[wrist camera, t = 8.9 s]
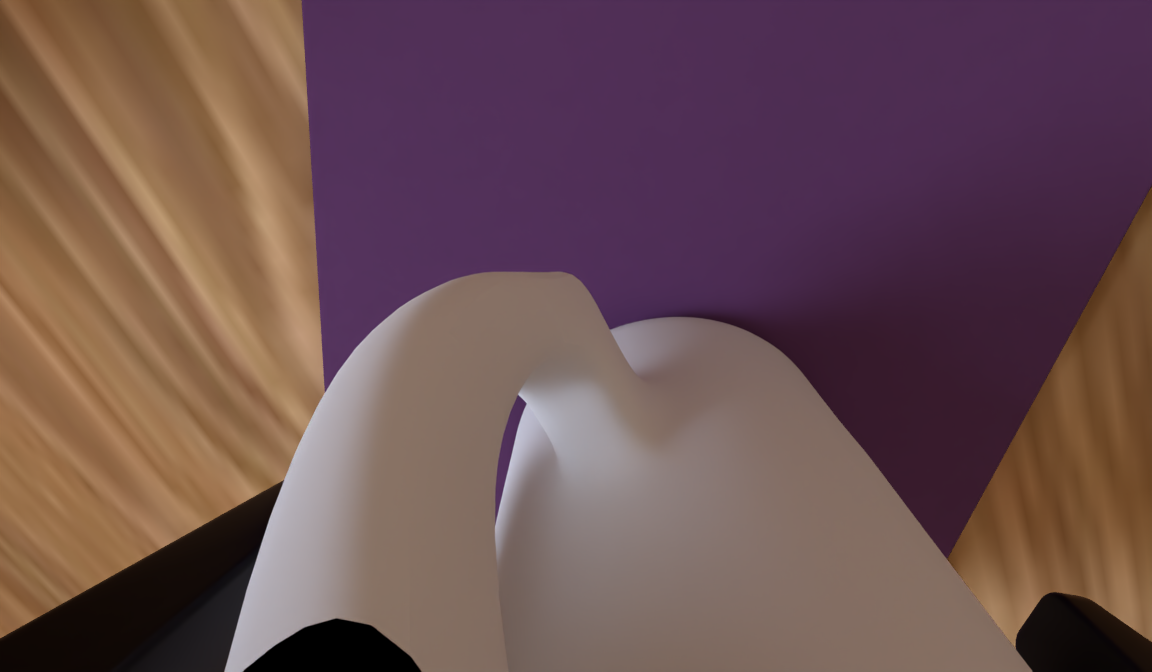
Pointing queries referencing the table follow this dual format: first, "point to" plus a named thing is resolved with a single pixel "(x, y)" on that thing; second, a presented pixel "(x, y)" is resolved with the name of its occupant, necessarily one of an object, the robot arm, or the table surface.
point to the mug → (591, 509)
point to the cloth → (752, 187)
